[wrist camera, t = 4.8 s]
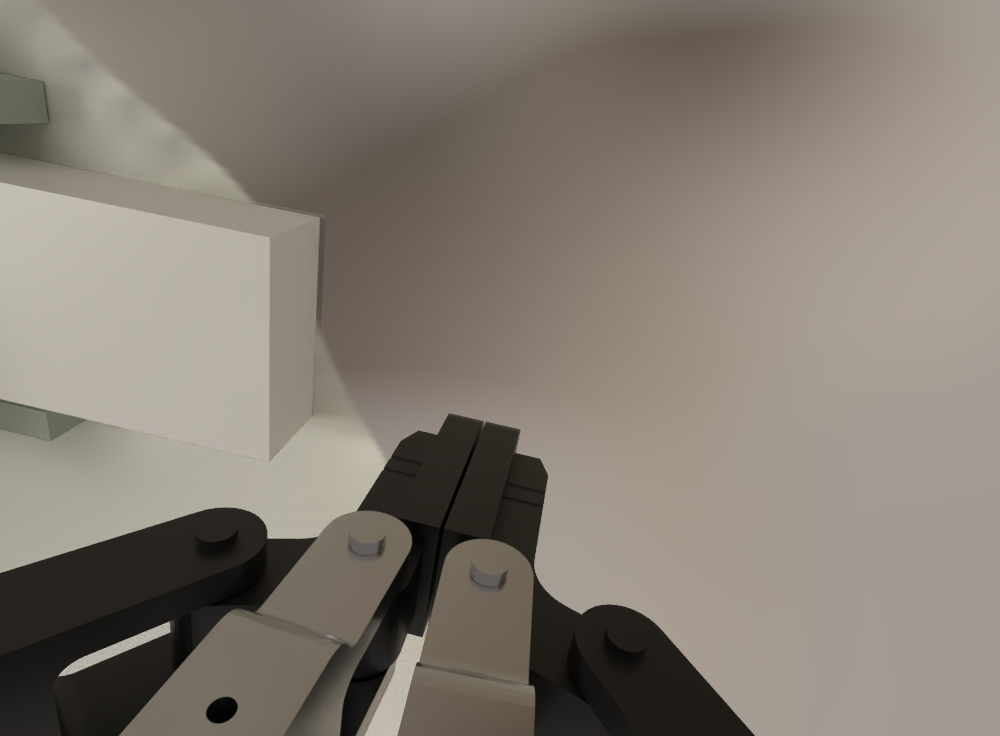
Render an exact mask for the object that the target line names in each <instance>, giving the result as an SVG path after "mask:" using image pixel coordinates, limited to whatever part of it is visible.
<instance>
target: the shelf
mask: <svg viewBox="0 0 1000 736" xmlns="http://www.w3.org/2000/svg"><path fill="white" fill-rule="evenodd" d="M29 123H49V122H48V114H47V107H46V100H45V92H44V85H43V81H38V80H33V79H28V78H23V77H17V76H12V75H7V74H2V73H0V124H29ZM85 420H86V419H83V418H79V417H75V416H70V415H66V414H62V413H58V412H53V411H49V410H45V409H40V408H36V407H32V406H28V405H23V404H19V403H15V402H11V401H6V400H2V399H0V429H2V430H6V431H10V432H14V433H19V434H23V435H27V436H31V437H35V438H39V439H43V440H48V441H51V440H53V439H55V438H56V437H58V436H60V435H61V434H63V433H65V432H66V431H68V430H70V429H71V428H73V427H75V426H76V425H78V424H80V423H81V422H83V421H85Z"/></svg>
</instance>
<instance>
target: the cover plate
mask: <svg viewBox="0 0 1000 736" xmlns="http://www.w3.org/2000/svg"><path fill="white" fill-rule="evenodd" d="M250 201H251V202H252V204H250V203H245V202H240V201H235V200H230V199H225V198H220V197H216V196H211V195H206V194H201V193H196V192H191V191H186V190H181V189H176V188H171V187H166V186H161V185H156V184H151V183H146V182H141V181H136V180H131V179H126V178H121V177H116V176H112V175H107V174H102V173H97V172H92V171H87V170H82V169H77V168H72V167H67V166H62V165H57V164H52V163H47V162H42V161H37V160H32V159H27V158H22V157H17V156H13V155H8V154H3V153H0V399H2V400H6V401H11V402H15V403H19V404H23V405H28V406H32V407H36V408H40V409H45V410H49V411H53V412H58V413H62V414H66V415H70V416H75V417H79V418H83V419H87V420H92V421H96V422H100V423H104V424H109V425H113V426H117V427H122V428H126V429H130V430H134V431H139V432H143V433H147V434H151V435H156V436H160V437H164V438H168V439H173V440H177V441H181V442H186V443H190V444H194V445H198V446H203V447H207V448H211V449H215V450H220V451H224V452H228V453H233V454H237V455H241V456H245V457H250V458H254V459H258V460H262V461H267V462H270V460H271V459H272V458H273V457H274V456H275V455H276V454H277V453H278V452H279V451H280V450H281V449H282V448H283V447H284V445H285V444H286V443H287V442H288V441H289V440H290V439H291V438H292V437H293V436H294V435H295V434H296V433H297V432H298V431H299V429H300V428H301V427H302V426H303V425H304V424H305V423H306V422H307V421H308V420H309V419H310V418H311V417H312V409H313V384H314V359H315V333H316V324H317V326H318V328H319V331H320V333H321V318H322V294H323V293H322V292H323V271H324V247H325V223H326V216H325V215H321V214H316V213H312V212H306V211H302V210H296V209H292V208H287V207H282V206H276V205H272V204H266V203H262V202H257V201H252V200H250Z"/></svg>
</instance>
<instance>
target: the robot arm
mask: <svg viewBox="0 0 1000 736" xmlns="http://www.w3.org/2000/svg"><path fill="white" fill-rule="evenodd" d="M483 426H484V428H483ZM519 434H520V429H516V428H511V427H507V426H503V425H498V424H494V423H490V422H486V423H485V425H484V422H483V421H480V420H475V419H471V418H467V417H462V416H459V415H454V414H449V415H448V416H447V418H446V420H445V422H444V424H443V426H442V428H441V429H440V431H439V433H438V435H435V434H431V433H426V432H422V431H417V432H416V433H414V434H412V435H410V436H409V437H407V438H405V439H403V440H402V441H401V442H400V443H399V445H398V446H397V448H396V450H395V451H394V453H393V454H392V457H391V459H389V461H388V462H387V464H386V466H385V467H384V470H383V471H382V472H381V474H380V475H379V477H378V478H377V480H376V481H375V483H374V485H373V486H372V488H371V489H370V491H369V493H368V494H367V496H366V497H365V499H364V501H363V502H362V504H361V505H360V507H359V509H358V510H357V512H352V513H348V514H345V515H342V516H340V517H338V518H336V519H335V520H333V521H332V522H331V523H330V524H329V525H328V526H327V527H326V528H325V529H324V530H323V532H322V533H321V534H320V535H319V536H318V537H315V538H308V539H267V529H266V526H265V524H264V522H263V521H262V520H261V519H260V518H259V517H258V516H256V515H255V514H253V513H251V512H249V511H246V510H242V509H237V508H214V509H208V510H204V511H200V512H197V513H193V514H190V515H187V516H184V517H180V518H177V519H174V520H171V521H167V522H164V523H161V524H158V525H155V526H151V527H148V528H145V529H142V530H138V531H135V532H132V533H129V534H125V535H122V536H119V537H116V538H112V539H109V540H106V541H103V542H99V543H96V544H93V545H90V546H87V547H83V548H80V549H77V550H74V551H70V552H67V553H64V554H61V555H57V556H54V557H51V558H48V559H44V560H41V561H38V562H35V563H32V564H28V565H25V566H22V567H19V568H15V569H12V570H9V571H6V572H2V573H0V736H364V735H365V733H366V731H367V729H368V727H369V725H370V722H371V720H372V718H373V716H374V714H375V712H376V710H377V708H378V706H379V704H380V701H381V699H382V697H383V695H384V693H385V691H386V689H387V687H388V685H389V683H390V680H391V678H392V676H393V673H394V670H395V663H396V659H397V658H398V656H399V654H400V652H401V649H402V646H403V644H404V641H405V639H406V636H407V633H408V634H412V635H416V636H420V637H423V634H424V631H425V628H426V625H427V622H428V620H429V624H428V630H427V634H426V638H425V642H424V646H423V650H422V654H421V658H420V661H419V662H417V664H416V667H415V670H414V674H413V677H412V681H411V685H410V689H409V693H408V697H407V701H406V705H405V709H404V713H403V717H402V720H401V724H400V728H399V732H398V736H755V735H754V734H753V733H752V732H751V731H750V730H749V729H748V727H747V726H746V725H745V724H744V723H743V722H742V721H741V720H740V718H739V717H738V716H737V715H736V714H735V713H734V712H733V710H732V709H731V708H730V707H729V706H728V705H727V704H726V702H724V700H723V699H722V698H721V697H720V696H719V695H718V693H716V691H715V690H714V689H713V688H712V687H711V686H710V684H709V683H708V682H707V681H706V680H705V679H704V678H703V676H702V675H701V674H700V673H699V672H698V671H697V670H696V669H695V668H694V667H693V665H692V664H691V663H690V662H689V661H688V659H686V657H685V656H684V655H683V654H682V653H681V652H680V651H679V649H678V648H677V647H676V646H675V645H674V644H673V643H672V642H671V640H670V639H669V638H668V637H667V636H666V635H665V634H664V632H663V631H662V630H661V629H660V628H659V627H658V626H657V625H656V624H655V623H654V622H653V621H651V620H650V619H649V618H647V617H645V616H644V615H642V614H641V613H639V612H637V611H634V610H632V609H630V608H627V607H623V606H618V605H600V606H595V607H593V608H591V609H588V610H587V611H586V612H585V613H583V614H582V615H581V614H579V613H577V612H576V611H574V610H572V609H570V608H568V607H566V606H565V605H563V604H561V603H560V602H558V601H557V600H555V599H554V598H553V597H552V596H550V594H549V593H548V592H547V591H546V590H545V589H544V588H543V587H542V585H541V584H540V582H539V580H538V579H537V576H536V573H535V569H534V559H535V553H536V546H537V541H538V534H539V527H540V522H541V516H542V509H543V504H544V497H545V491H546V485H547V479H548V475H547V472H546V470H545V468H544V466H543V464H542V462H541V460H540V459H538V458H533V457H530V456H525V455H521V454H517V453H516V449H517V444H518V440H519ZM429 617H430V618H429ZM169 621H170V630H171V632H170V633H168V634H166V635H163V636H161V637H159V638H156V639H154V640H152V641H149V642H147V643H144V644H142V645H140V646H137V647H135V648H133V649H130V650H128V651H125V652H123V653H121V654H118V655H116V656H114V657H111V658H109V659H106V660H104V661H102V662H99V663H97V664H95V665H92V666H90V667H88V668H85V669H83V670H80V671H78V672H76V673H73V674H70V675H66V676H58V675H59V674H60V673H61V672H62V671H63V670H64V669H65V668H66V667H67V666H69V665H70V664H71V663H73V662H74V661H76V660H78V659H80V658H82V657H84V656H86V655H89V654H91V653H94V652H96V651H98V650H101V649H103V648H106V647H108V646H111V645H113V644H116V643H118V642H120V641H123V640H125V639H128V638H130V637H133V636H135V635H137V634H140V633H142V632H145V631H147V630H150V629H152V628H155V627H157V626H159V625H162V624H164V623H167V622H169Z"/></svg>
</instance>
